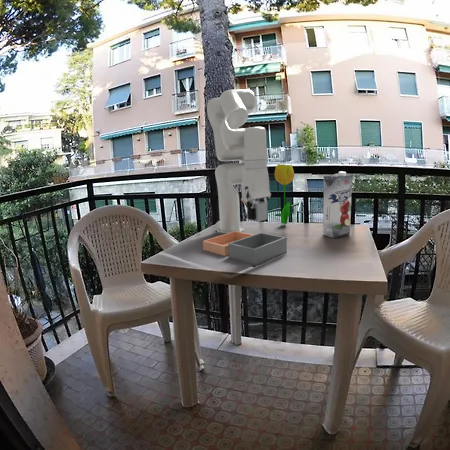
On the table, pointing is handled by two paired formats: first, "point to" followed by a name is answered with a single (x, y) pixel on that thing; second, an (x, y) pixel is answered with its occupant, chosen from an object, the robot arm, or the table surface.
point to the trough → (223, 242)
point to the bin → (258, 248)
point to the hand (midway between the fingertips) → (257, 217)
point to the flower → (284, 176)
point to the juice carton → (337, 204)
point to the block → (259, 211)
